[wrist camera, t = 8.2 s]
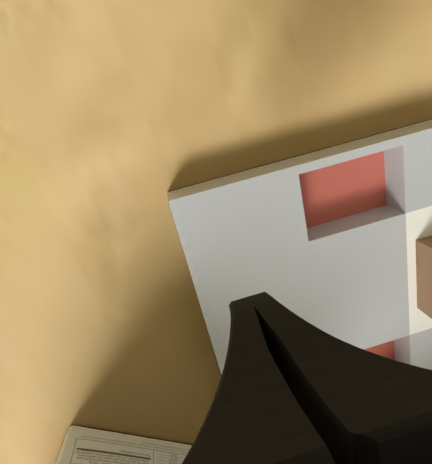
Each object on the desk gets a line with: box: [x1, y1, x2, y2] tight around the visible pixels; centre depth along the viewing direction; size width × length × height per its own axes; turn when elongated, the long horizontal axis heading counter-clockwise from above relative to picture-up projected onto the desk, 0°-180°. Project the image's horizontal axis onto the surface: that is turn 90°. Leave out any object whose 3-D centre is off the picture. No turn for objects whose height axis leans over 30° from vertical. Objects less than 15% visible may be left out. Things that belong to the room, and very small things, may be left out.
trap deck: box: [167, 119, 432, 375], centre depth 21 cm, size 20×18×5 cm
